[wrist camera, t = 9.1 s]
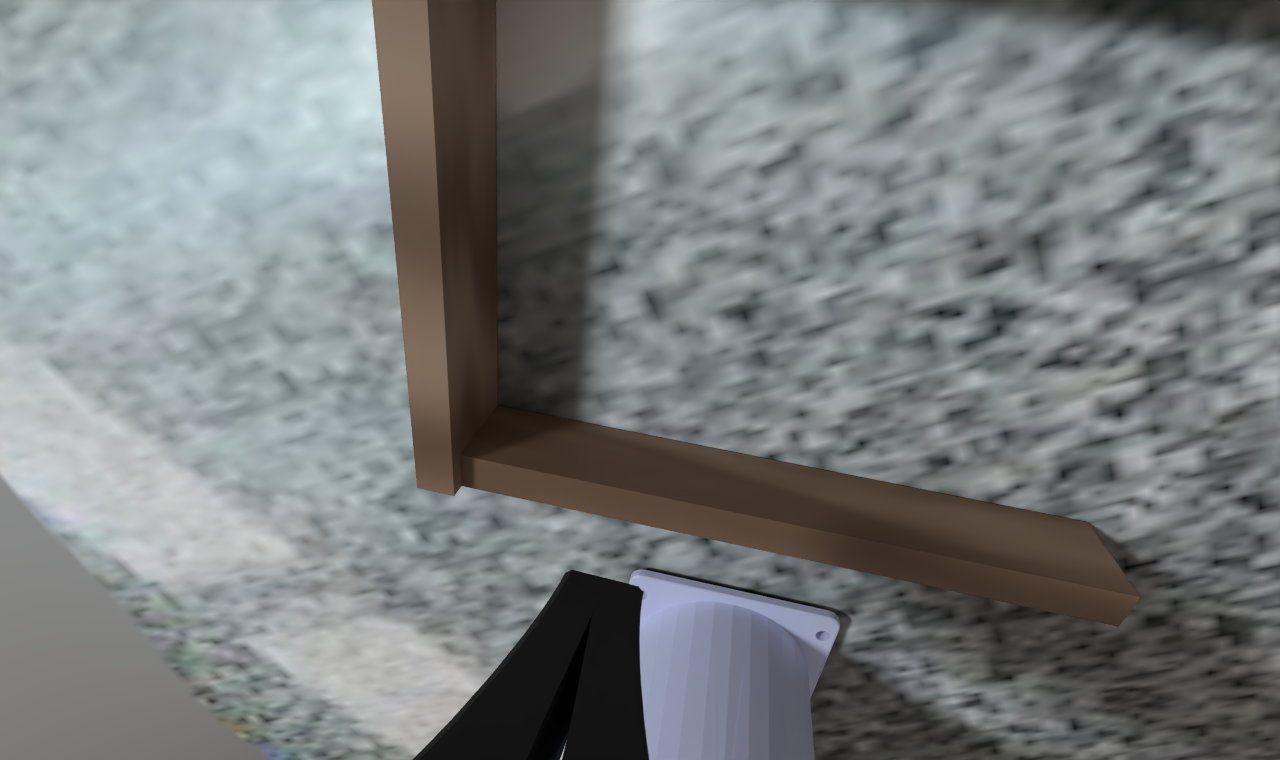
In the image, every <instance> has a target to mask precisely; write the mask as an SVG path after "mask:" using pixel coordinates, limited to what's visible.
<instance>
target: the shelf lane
mask: <svg viewBox="0 0 1280 760" xmlns="http://www.w3.org/2000/svg"><path fill="white" fill-rule="evenodd" d="M372 6H373V17H374V27H375V38H376V49H377V60H378V70H379V81H380V92H381V102H382V113H383V124H384V135H385V145H386V156H387V167H388V178H389V188H390V199H391V210H392V221H393V231H394V242H395V253H396V264H397V274H398V285H399V296H400V307H401V317H402V328H403V339H404V350H405V360H406V371H407V382H408V393H409V403H410V414H411V425H412V435H413V446H414V457H415V468H416V478H417V488H420V489H425V490H429V491H434V492H439V493H443V494H448V495H452V496H454V495H455V494H456V492H457V491H458V490H459V488H460V487H461V486H465V487H470V488H474V489H479V490H484V491H488V492H493V493H498V494H502V495H507V496H512V497H516V498H521V499H526V500H530V501H535V502H540V503H544V504H549V505H554V506H558V507H563V508H568V509H572V510H577V511H582V512H586V513H591V514H596V515H600V516H605V517H610V518H614V519H619V520H624V521H628V522H633V523H638V524H642V525H647V526H652V527H656V528H661V529H666V530H670V531H675V532H680V533H684V534H689V535H694V536H698V537H703V538H708V539H712V540H717V541H722V542H726V543H731V544H736V545H740V546H745V547H750V548H754V549H759V550H764V551H768V552H773V553H778V554H782V555H787V556H792V557H796V558H801V559H806V560H810V561H815V562H820V563H824V564H829V565H834V566H838V567H843V568H848V569H852V570H857V571H862V572H866V573H871V574H876V575H880V576H885V577H890V578H894V579H899V580H904V581H908V582H913V583H918V584H922V585H927V586H932V587H936V588H941V589H946V590H950V591H955V592H960V593H964V594H969V595H974V596H979V597H983V598H988V599H993V600H997V601H1002V602H1007V603H1011V604H1016V605H1021V606H1025V607H1030V608H1035V609H1039V610H1044V611H1049V612H1053V613H1058V614H1063V615H1067V616H1072V617H1077V618H1081V619H1086V620H1091V621H1095V622H1100V623H1105V624H1109V625H1114V626H1119V625H1120V624H1121V623H1122V621H1123V620H1124V619H1125V617H1126V616H1127V615H1128V614H1129V612H1130V611H1131V610H1132V608H1133V607H1134V606H1135V604H1136V603H1137V602H1138V601H1139V599H1140V598H1141V596H1140V595H1139V594H1138V592H1137V591H1136V589H1135V588H1134V587H1133V585H1132V584H1131V582H1130V581H1129V580H1128V578H1127V577H1126V575H1125V574H1124V573H1123V571H1122V570H1121V568H1120V567H1119V565H1118V564H1117V563H1116V561H1115V560H1114V558H1113V557H1112V556H1111V554H1110V553H1109V551H1108V550H1107V549H1106V547H1105V546H1104V544H1103V543H1102V541H1101V540H1100V539H1099V537H1098V536H1097V534H1096V533H1095V532H1094V530H1093V529H1092V527H1091V526H1090V525H1089V523H1088V522H1084V521H1079V520H1073V519H1068V518H1063V517H1058V516H1053V515H1048V514H1043V513H1038V512H1033V511H1028V510H1023V509H1018V508H1013V507H1008V506H1003V505H998V504H993V503H988V502H983V501H978V500H973V499H968V498H963V497H958V496H952V495H947V494H942V493H937V492H932V491H927V490H922V489H917V488H912V487H907V486H902V485H897V484H892V483H887V482H882V481H877V480H872V479H867V478H862V477H857V476H852V475H847V474H842V473H837V472H831V471H826V470H821V469H816V468H811V467H806V466H801V465H796V464H791V463H786V462H781V461H776V460H771V459H766V458H761V457H756V456H751V455H746V454H741V453H736V452H731V451H726V450H721V449H716V448H710V447H705V446H700V445H695V444H690V443H685V442H680V441H675V440H670V439H665V438H660V437H655V436H650V435H645V434H640V433H635V432H630V431H625V430H620V429H615V428H610V427H605V426H600V425H595V424H589V423H584V422H579V421H574V420H569V419H564V418H559V417H554V416H549V415H544V414H539V413H534V412H529V411H524V410H519V409H514V408H509V407H504V406H499V405H498V335H497V173H496V11H495V0H372Z"/></svg>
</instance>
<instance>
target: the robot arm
mask: <svg viewBox="0 0 1280 760" xmlns="http://www.w3.org/2000/svg"><path fill="white" fill-rule="evenodd" d="M642 590H643V591H645V592H643V591H642ZM839 630H840V621H839V617H838V615H836V614H835V613H834V612H831V611H829V610H824V609H820V608H815V607H811V606H806V605H802V604H797V603H793V602H788V601H784V600H779V599H775V598H770V597H766V596H761V595H757V594H752V593H748V592H743V591H739V590H734V589H730V588H725V587H721V586H716V585H712V584H707V583H703V582H698V581H694V580H689V579H685V578H680V577H676V576H671V575H666V574H662V573H657V572H653V571H648V570H642V569H640V570H636V571H634V572H633V573H632V575H631V578H630V582H629V584H627V583H623V582H619V581H615V580H611V579H607V578H603V577H599V576H595V575H591V574H587V573H582V572H578V571H574V570H571V571H569V572H566V573H565V575H564V576H563V578H562V580H561V582H560V583H559V585H558V587H557V588H556V590H555V591H554V593H553V594H552V596H551V598H550V599H549V601H548V602H547V604H546V605H545V606H544V608H543V609H542V611H541V612H540V614H539V615H538V616H537V618H536V619H535V620H534V622H533V623H532V624H531V626H530V627H529V629H528V630H527V631H526V633H525V634H524V635H523V636H522V638H521V639H520V640H519V641H518V643H517V644H516V645H515V646H514V648H513V649H512V650H511V651H510V653H509V654H508V655H507V656H506V658H505V659H504V660H503V661H502V663H501V664H500V665H499V666H498V668H497V669H496V670H495V671H494V672H493V674H492V675H491V676H490V677H489V678H488V679H487V681H486V682H485V683H484V684H483V685H482V686H481V687H480V688H479V690H478V691H477V692H476V693H475V694H474V695H473V696H472V697H471V699H470V700H469V701H468V702H467V703H466V704H465V705H464V706H463V708H462V709H461V710H460V711H459V712H458V713H457V714H456V715H455V716H454V718H453V719H452V720H451V721H450V722H449V723H448V724H447V725H446V726H445V727H444V728H443V729H442V730H441V731H440V732H439V733H438V734H437V735H436V736H435V738H434V739H433V740H432V741H431V742H430V743H429V744H428V745H427V746H426V747H425V748H424V749H423V750H422V751H421V752H420V753H419V754H418V755H417V756H416V757H415V758H414V759H413V760H560V757H561V755H562V752H563V749H564V746H565V744H566V746H565V750H564V754H563V759H562V760H815V754H814V742H813V729H812V716H811V703H810V698H811V696H812V694H813V691H814V689H815V687H816V684H817V682H818V679H819V677H820V675H821V672H822V670H823V668H824V665H825V663H826V661H827V658H828V656H829V654H830V651H831V649H832V646H833V644H834V642H835V639H836V637H837V635H838V632H839ZM820 631H825V632H820ZM566 741H567V742H566Z"/></svg>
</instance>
